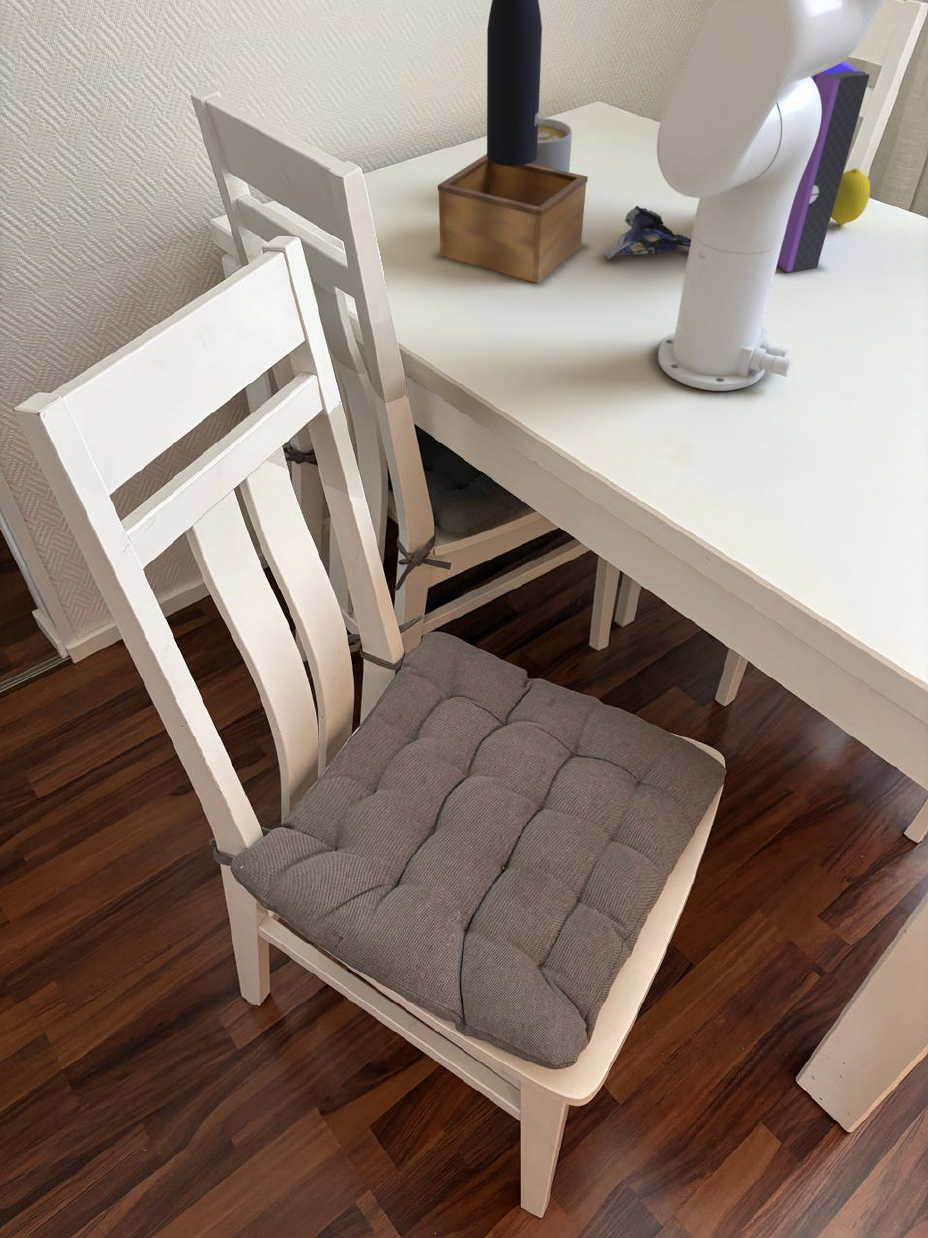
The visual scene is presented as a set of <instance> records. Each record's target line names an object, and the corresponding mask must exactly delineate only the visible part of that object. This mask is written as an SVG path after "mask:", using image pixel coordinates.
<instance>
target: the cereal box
mask: <svg viewBox="0 0 928 1238" xmlns="http://www.w3.org/2000/svg"><path fill="white" fill-rule="evenodd" d="M811 78H812V79H813V81H814V82H815V84H816V86H817V88H818V91H819V94H820V99H821V108H822V114H821V124H820V129H819V133H818V137H817V140H816V143H815V146H814V149H813V151H812V154H811V156H810V158H809V161H808V163H807V166H806V168H805V171H804V173H803V175H802V178H801V180H800V183H799V186H798V189H797V192H796V195H795V197H794V201H793V204H792V208H791V211H790V215H789V219H788V223H787V227H786V231H785V235H784V239H783V242H782V246H781V250H780V254H779V258H778V263H777V268H779V269H780V270H782V271H783V272H784V273H786V274H790V273H796V272H802V271H807V270H812V269H817V268H818V266H819V263H820V259H821V256H822V255H821V254H822V251H823V247H824V244H825V241H826V236H827V233H828V230H829V225H830V222H831V219H832V218H831V215H832V211H833V207H834V204H835V200H836V197H837V193H838V189H839V186H840V182H841V178H842V175H843V173H844V172H845V167H846V164H847V160H848V157H849V153H850V149H851V145H852V142H853V138H854V134H855V130H856V128H857V127H856V126H857V125H858V119H859V116H860V112H861V109H862V105H863V101H864V98H865V94H866V90H867V87H868V83H869V79H870V74H868V73H866V72H865V71H863V70H861V69H859V68H858V67H855V66H853V65H851V64H849V63H848V62H845V60H844V61H843V62H841V63H840V64H838V65H836V66H834V67H832V68H830V69H828V70H825V71H823V72H821V73H818V74H816V75H813V76H811Z"/></svg>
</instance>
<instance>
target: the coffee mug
mask: <svg viewBox="0 0 928 1238" xmlns="http://www.w3.org/2000/svg"><path fill="white" fill-rule="evenodd" d="M572 135H573V129H572V127H571V126H570V125H569V124H567V123H566V122H563V121H561V120H558V119H555V118H554V119H553V118H547V117H539V119H538V144H537V157H536V160H534V161H533V162H531V163H530V164H535V165H539V166H543V167H548V168H552V169H556V170H561V171H565V172H569V173H570V166H571V165H570V164H571V151H572V139H573V138H572V137H573V136H572Z"/></svg>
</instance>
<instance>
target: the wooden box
mask: <svg viewBox="0 0 928 1238" xmlns="http://www.w3.org/2000/svg"><path fill="white" fill-rule="evenodd" d="M588 179H589V176H587V175H582V174H578V173H573V172H570V171H569V172H565V171H561V170H556V169H552V168H548V167H543V166H539V165H535V164H530V163H529V164H526V165H521V166H503V165H498V164H495V163H492V162H491V161H490V160H488V158H487V153H486V154H484V155H483V156H481V157H480V158H478V159H476V160H475V161H473V162H472V163H470V164H468V165H467V166H466V167H464V168H463V169H461V170H459V171H458V172H456V173H455V174H453V175H452V176H450V177H448V178H447V179H445V180H444V181H442V182H441V183H439V184H437V191H438V209H439V210H438V215H439V217H438V219H439V254H440V255H439V256H440V257H443V258H447V259H450V260H454V261H458V262H462V263H466V264H468V265H471V266H475V267H479V268H483V269H486V270H490V271H493V272H497V273H501V274H504V275H507V276H510V277H515V278H518V279H521V280H526V281H528V282H533V283H535V284H539V283H540V282H542V281H543V280H544V279H545V278H546V277H547V276H548V275H550V273H552V272H553V271H554V270H556V269H557V268H558V267H559V266H561V265H562V264H563V263H564V262H565V261H566V260H567V259H569V258H570V257H571V256H572V255H574V254H575V253H576V252H577V251H579V249H581V247H582V237H583V228H584V227H583V226H584V215H585V213H584V212H585V202H586V190H587V183H588Z"/></svg>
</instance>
